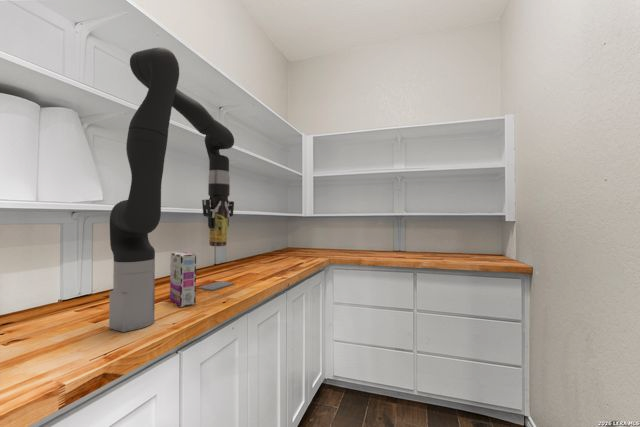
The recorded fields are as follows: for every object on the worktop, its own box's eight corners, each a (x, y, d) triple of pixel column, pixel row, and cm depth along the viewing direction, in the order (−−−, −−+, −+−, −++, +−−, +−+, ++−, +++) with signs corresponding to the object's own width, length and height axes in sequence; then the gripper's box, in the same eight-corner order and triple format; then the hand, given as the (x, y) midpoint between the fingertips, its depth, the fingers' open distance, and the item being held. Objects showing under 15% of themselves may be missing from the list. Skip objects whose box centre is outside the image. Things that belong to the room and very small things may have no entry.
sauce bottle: (205, 246, 105) (206, 192, 105) (216, 244, 111) (216, 193, 111) (220, 247, 103) (221, 192, 103) (231, 245, 109) (231, 193, 109)
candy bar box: (196, 304, 93) (197, 254, 93) (180, 308, 90) (180, 255, 90) (184, 297, 101) (184, 251, 101) (169, 300, 98) (169, 252, 98)
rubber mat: (212, 291, 110) (212, 289, 110) (197, 288, 113) (197, 287, 113) (234, 284, 121) (234, 283, 121) (220, 282, 124) (220, 281, 124)
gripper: (211, 180, 99) (211, 229, 99) (240, 185, 112) (239, 227, 112) (196, 181, 103) (195, 228, 102) (225, 185, 116) (225, 227, 115)
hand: (218, 228), depth 107 cm, fingers closed on sauce bottle, 6 cm apart
